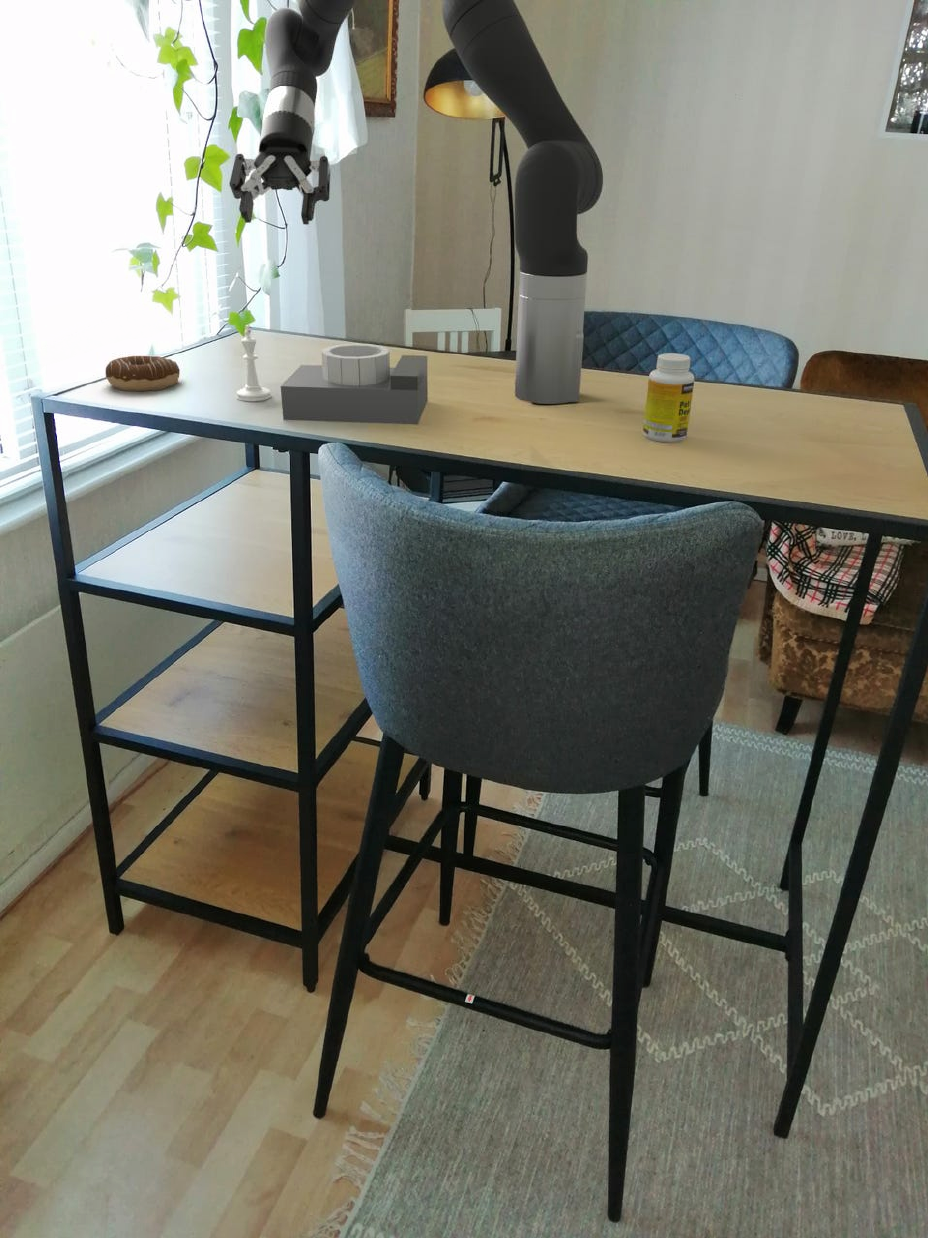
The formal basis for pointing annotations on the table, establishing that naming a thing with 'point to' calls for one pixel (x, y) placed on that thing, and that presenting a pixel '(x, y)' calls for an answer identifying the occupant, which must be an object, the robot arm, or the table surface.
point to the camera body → (357, 387)
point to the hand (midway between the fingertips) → (275, 219)
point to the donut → (142, 373)
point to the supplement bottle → (669, 399)
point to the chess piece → (251, 373)
